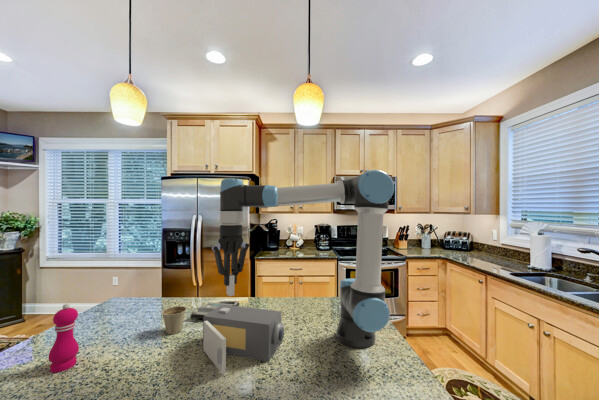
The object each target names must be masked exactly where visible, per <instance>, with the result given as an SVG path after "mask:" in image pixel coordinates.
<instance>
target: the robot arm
mask: <svg viewBox="0 0 599 400" xmlns="http://www.w3.org/2000/svg"><path fill="white" fill-rule="evenodd" d="M393 181H394V180H393V179H392V177H391V176H390V175H389V174H388V173H387V172H385V171H383V170H380V169H371V170H366V171H365V172H363V173H361V174H359V175H357V176H354V177H352V178H348V179H343V180H338V182H335V183H322V184H321V183H319V184H310V185H297V186H295V185H294V186H285V187H284V186H283V187H277V186H276V185H270V184H265V185H263V184H262V185H261V184H259V185H257V184H256V185H254V184H253V185H252V184H251V185H250V184H244V181H243V180H242V179H239V178H233V177H231V178H230V177H229V178H224V179H222V180H221V182H220V191H219V197H220V198H219V203H220V205H219V206H220V207H219V208H220V209H219V224H220V226H219V239H218V241H217V242H218V243H216V244H215V245H211V251H212V252H213V254H214V259H215V263H216V268H217V272H218V274H219V275H221V276H224V277H223V285H224V286H226V290H225V291H226V293H225V294H226V295H227V296H228V297H232V296H235V285H237V282H238V275H239V273H242V272H243V269H244V264H245V260H246V255H247V251H248V249H249V247H250V244H249V243H247V242H245V241H244V238H243V230H244V229H243V225H242V224H243V219H244V218H243V213H244V210H243V208H248V207H249V208H251V207H252V208H261V209H268V208H275V207H277V208H278V207H288V206H298V205H299V206H301V205H313V204H314V205H315V204H325V203H337V202H338V203H340V204H341V205H344V204H352V205H353V204H354V205H353V209H354V210H355V211H356V212H357V232H356V233H357V234H356V235H357V236H356V237H357V238H356V253H355V254H356V256H355V258H356V259H355V278H344V279H341V280H340V285H339V289H340V290H339V291H340V293H339V294H340V297H339V298H340V300H339V301H340V307H339V308H340V316H339V317H340V318H339V320H338V324H337V327H336V332H335V333H336V334H335V335H336V337H335V338H336V340H337V341H338V342H339V343H341V344H342V345H345V346H347V347H351V348H354V349H355V348H357V349H358V348H359V349H364V348H369V347H371V346H373V345H374V344H376V343H375V342H376V332H380V331H382V329H383V328H385V327H386V326H387V325H388V322H389V321H390V317H391V316H390V314H391V313H390V308H389V306H388V303H386V288H385V287H384V286H383V285H382V283H381V281H382V278H381V277H382V254H383V230H384V227H383V226H384V214H385V213H386V212H387V211H388V210H389V200H390V199H391V198H392V196H393V195H394V192H395V185H394V182H393ZM221 249H222V250H223V253H221V251H220V250H221ZM239 249H240V250H239ZM222 254H223V259H222Z"/></svg>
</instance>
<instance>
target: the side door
mask: <svg viewBox="0 0 599 400" xmlns="http://www.w3.org/2000/svg"><path fill="white" fill-rule="evenodd" d="M202 350H203V352H204V353H205V354H206V356H208V358H209V359H210V361H211V362H212V363H213V364H214V366H215V367H216V368H217V370H218V371H219V372H220V373H221V374H225V373H226V371H227V368H226V367H227V354H226V338H225V337H224V336H223V335H222V334H221V333H220V332H219V331H218V330H217V329H216V328H215V327H213V326H212V325H211V324H210V323H209V322H208V321H204V340H203V339H202Z"/></svg>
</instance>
